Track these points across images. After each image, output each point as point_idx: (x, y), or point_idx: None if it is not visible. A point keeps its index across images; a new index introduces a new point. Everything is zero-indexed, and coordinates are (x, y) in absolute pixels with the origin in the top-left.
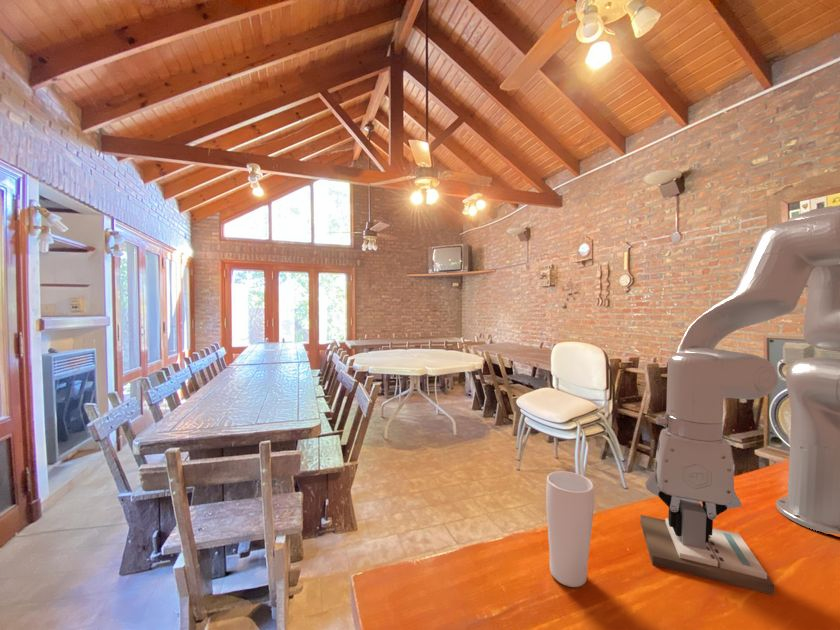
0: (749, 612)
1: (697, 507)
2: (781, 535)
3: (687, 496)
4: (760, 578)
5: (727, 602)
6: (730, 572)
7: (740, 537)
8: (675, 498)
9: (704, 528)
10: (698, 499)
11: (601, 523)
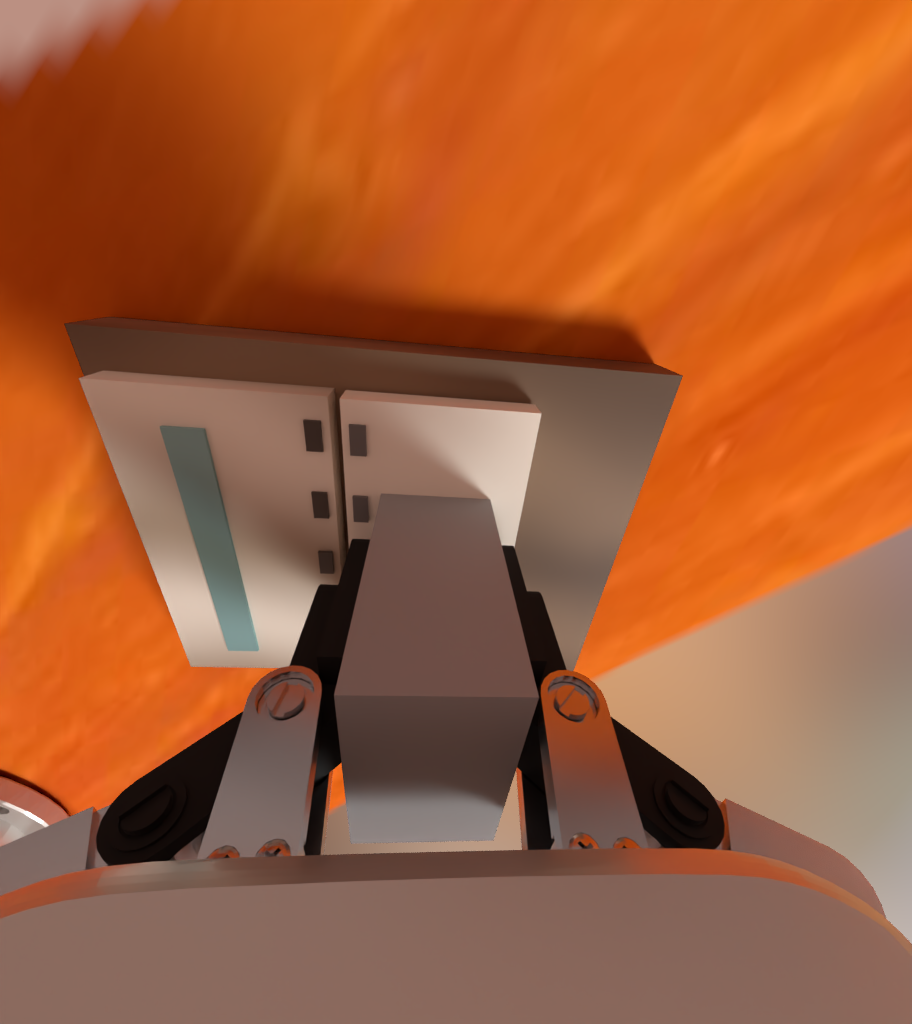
0: (257, 67)
1: (388, 752)
2: (67, 717)
3: (561, 907)
4: (135, 363)
5: (363, 135)
6: (287, 364)
7: (187, 644)
8: (599, 809)
9: (369, 580)
10: (408, 890)
11: (737, 593)
